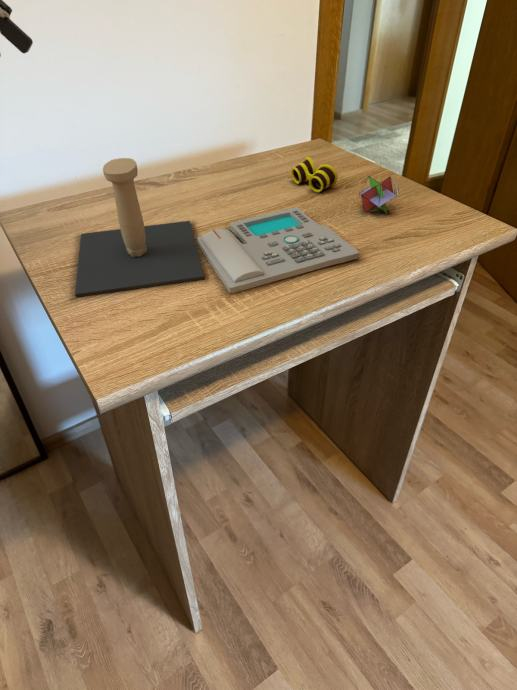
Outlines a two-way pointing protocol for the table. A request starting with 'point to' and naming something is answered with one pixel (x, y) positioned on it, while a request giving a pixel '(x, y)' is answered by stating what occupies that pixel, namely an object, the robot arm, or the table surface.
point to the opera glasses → (314, 175)
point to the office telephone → (272, 249)
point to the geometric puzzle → (378, 194)
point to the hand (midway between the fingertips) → (13, 54)
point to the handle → (127, 204)
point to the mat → (137, 260)
